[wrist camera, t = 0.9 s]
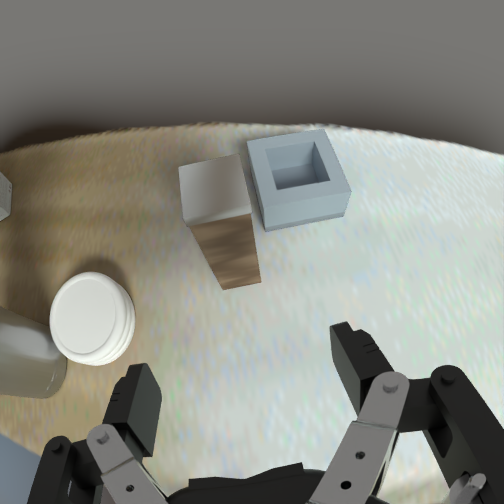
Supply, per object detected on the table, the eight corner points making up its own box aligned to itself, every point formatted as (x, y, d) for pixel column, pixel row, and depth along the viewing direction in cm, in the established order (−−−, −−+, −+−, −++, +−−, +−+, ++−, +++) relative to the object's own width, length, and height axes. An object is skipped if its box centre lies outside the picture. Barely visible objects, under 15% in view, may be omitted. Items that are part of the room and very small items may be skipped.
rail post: (222, 291, 33) (183, 219, 19) (216, 254, 35) (178, 167, 21) (262, 282, 33) (250, 204, 19) (254, 246, 35) (239, 153, 21)
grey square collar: (265, 231, 35) (263, 207, 31) (250, 168, 39) (246, 141, 35) (343, 216, 36) (351, 191, 31) (320, 156, 39) (323, 128, 35)
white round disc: (132, 272, 35) (119, 260, 32) (143, 359, 31) (129, 356, 28) (63, 289, 35) (47, 280, 32) (68, 370, 31) (50, 366, 28)
